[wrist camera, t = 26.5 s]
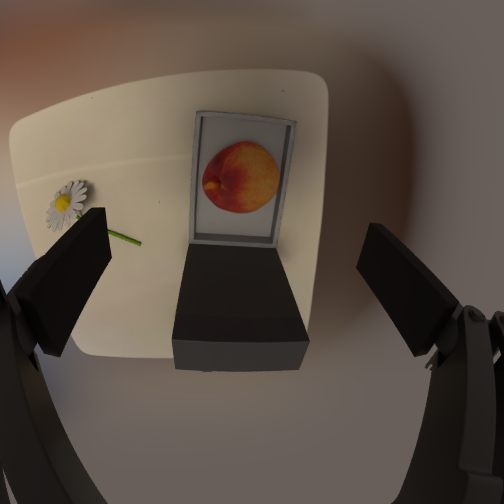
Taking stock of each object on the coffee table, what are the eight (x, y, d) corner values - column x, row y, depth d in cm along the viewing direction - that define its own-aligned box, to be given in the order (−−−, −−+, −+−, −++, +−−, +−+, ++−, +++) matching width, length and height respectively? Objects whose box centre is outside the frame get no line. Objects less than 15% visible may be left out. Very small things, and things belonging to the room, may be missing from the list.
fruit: (219, 129, 29) (218, 133, 22) (282, 152, 31) (300, 165, 25) (197, 189, 33) (191, 211, 26) (258, 209, 35) (268, 236, 28)
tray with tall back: (198, 111, 29) (167, 109, 12) (291, 120, 30) (367, 135, 14) (190, 259, 38) (175, 369, 22) (268, 263, 40) (299, 369, 23)
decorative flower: (129, 260, 29) (29, 217, 25) (131, 270, 35) (43, 233, 30) (153, 203, 32) (57, 166, 28) (150, 221, 38) (65, 187, 33)
